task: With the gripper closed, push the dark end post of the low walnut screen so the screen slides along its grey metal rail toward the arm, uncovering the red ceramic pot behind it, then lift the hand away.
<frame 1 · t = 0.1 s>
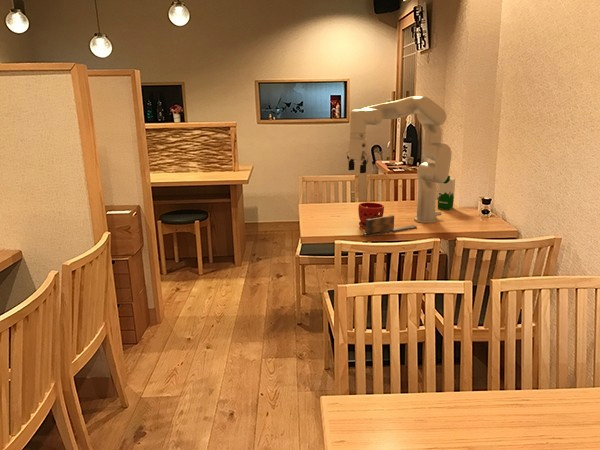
hand: (357, 171, 243), 31 cm above the table, tool pointing down, fingers open, 9 cm apart
screen rail: (390, 231, 252), on the table
plant pot: (370, 227, 261), on the table
walnut screen: (380, 224, 248), point 5 cm above the table, slide at 0.0 cm
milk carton: (445, 208, 297), on the table
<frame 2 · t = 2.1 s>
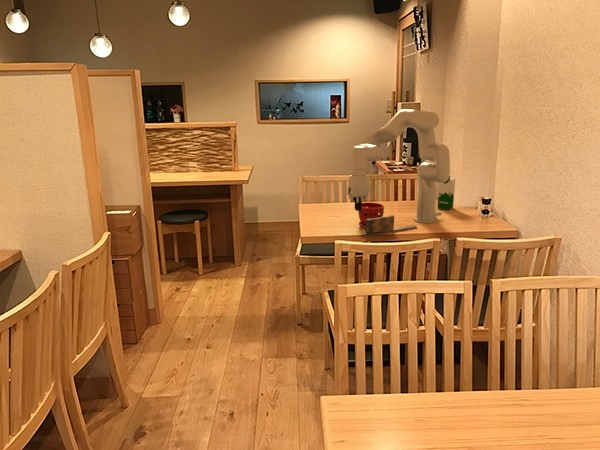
hand: (358, 210, 239), 14 cm above the table, tool pointing down, fingers closed
nothing on the table moved.
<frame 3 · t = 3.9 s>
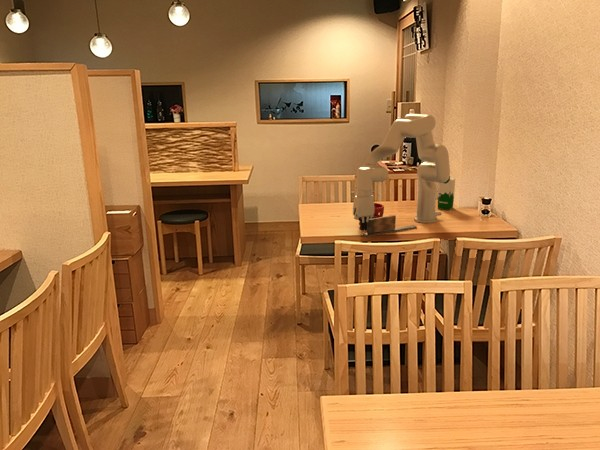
hand: (363, 229, 244), 3 cm above the table, tool pointing down, fingers closed
walnut screen: (381, 224, 248), point 5 cm above the table, slide at 0.9 cm, touching gripper
everything else where it was.
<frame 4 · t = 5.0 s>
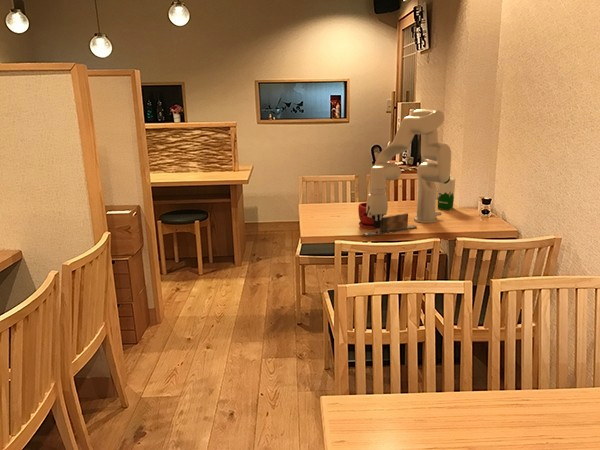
hand: (376, 227, 247), 3 cm above the table, tool pointing down, fingers closed
walnut screen: (394, 222, 251), point 5 cm above the table, slide at 8.8 cm, touching gripper
everything else where it was.
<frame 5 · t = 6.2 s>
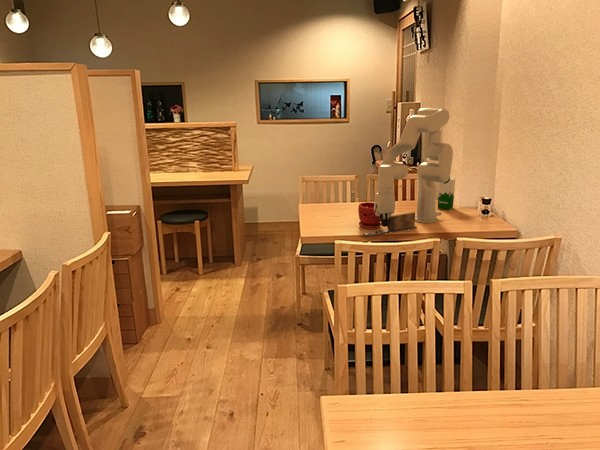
hand: (384, 226, 249), 4 cm above the table, tool pointing down, fingers closed
walnut screen: (401, 220, 253), point 5 cm above the table, slide at 13.3 cm, touching gripper
everything else where it was.
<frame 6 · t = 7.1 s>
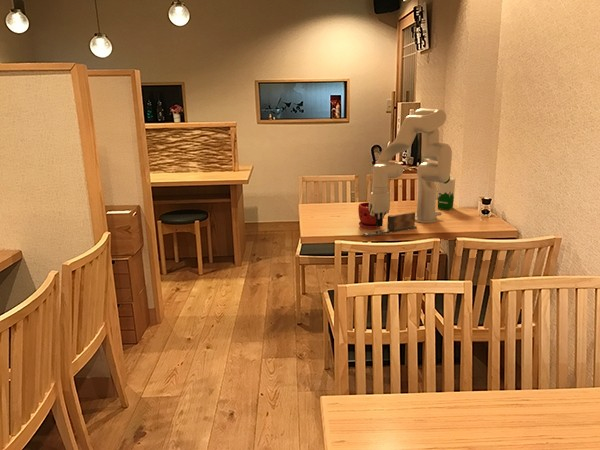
hand: (379, 225, 248), 4 cm above the table, tool pointing down, fingers closed
walnut screen: (401, 220, 253), point 5 cm above the table, slide at 13.3 cm
everything else where it was.
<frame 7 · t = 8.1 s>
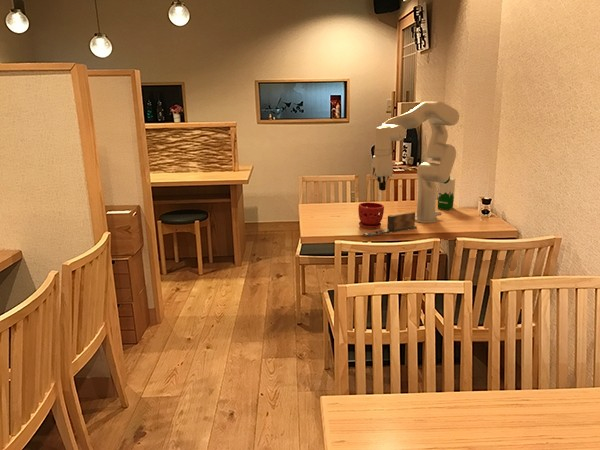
hand: (382, 189, 245), 22 cm above the table, tool pointing down, fingers closed
nothing on the table moved.
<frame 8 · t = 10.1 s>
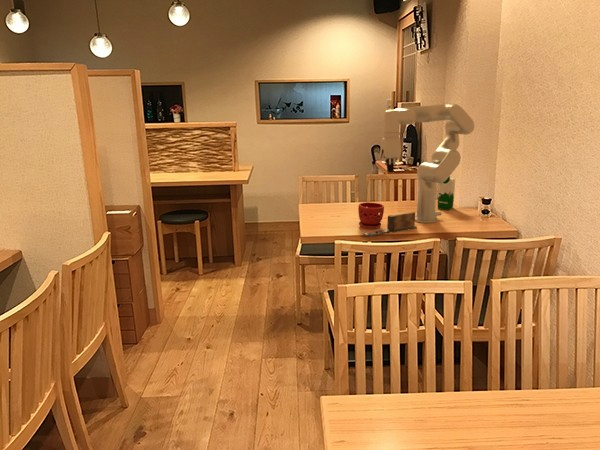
hand: (390, 171, 253), 29 cm above the table, tool pointing down, fingers closed
nothing on the table moved.
at the end: walnut screen slide at 13.3 cm; plant pot moved 0.3 cm from its start; plant pot tilted 0° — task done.
